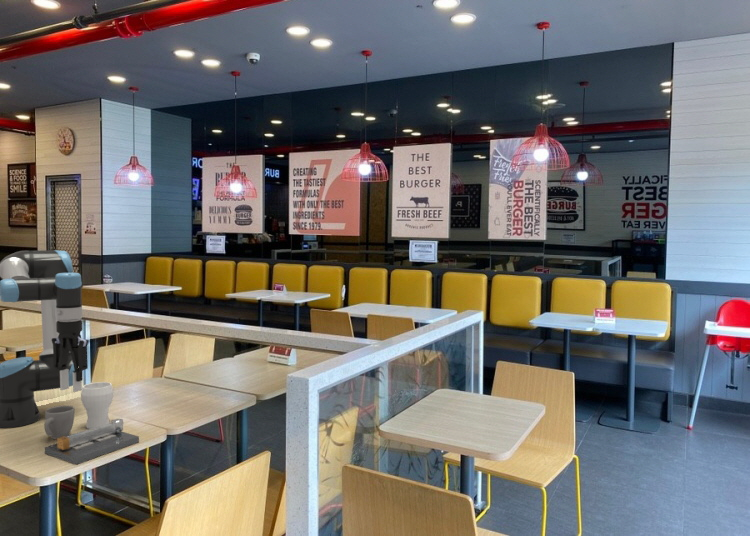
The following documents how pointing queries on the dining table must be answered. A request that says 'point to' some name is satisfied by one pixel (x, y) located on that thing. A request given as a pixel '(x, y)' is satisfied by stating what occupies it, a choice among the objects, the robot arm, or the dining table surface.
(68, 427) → the mug
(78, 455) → the chassis
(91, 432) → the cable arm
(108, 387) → the cup
